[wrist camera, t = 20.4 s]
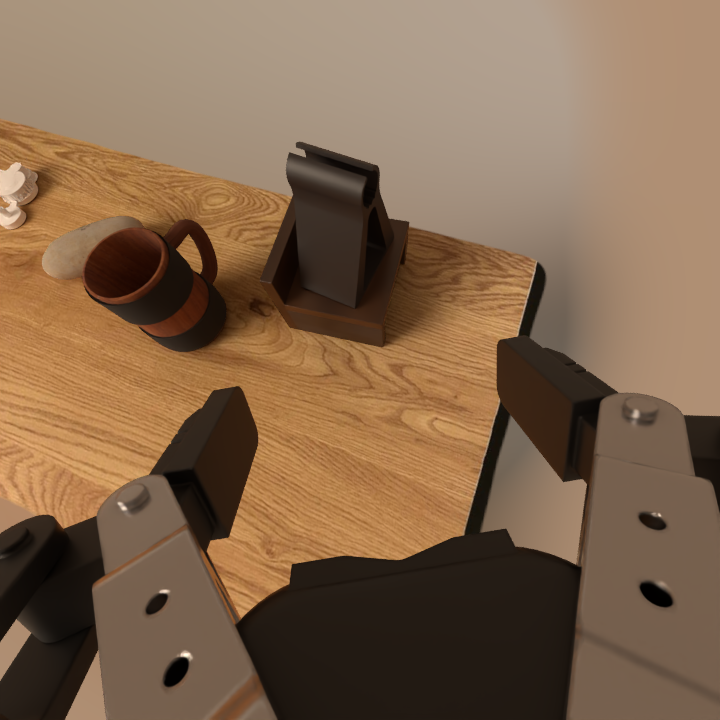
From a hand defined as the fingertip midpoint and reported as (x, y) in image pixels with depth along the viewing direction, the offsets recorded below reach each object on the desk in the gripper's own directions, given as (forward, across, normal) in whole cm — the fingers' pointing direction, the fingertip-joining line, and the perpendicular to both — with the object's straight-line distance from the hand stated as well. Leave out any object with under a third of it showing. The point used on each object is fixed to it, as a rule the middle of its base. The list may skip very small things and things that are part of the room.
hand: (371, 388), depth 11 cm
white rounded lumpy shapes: (+48, +45, -13) cm, 67 cm away
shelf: (+31, 0, +5) cm, 31 cm away
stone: (+39, +30, -3) cm, 49 cm away
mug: (+32, +18, +4) cm, 37 cm away
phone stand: (+26, 0, +1) cm, 27 cm away
